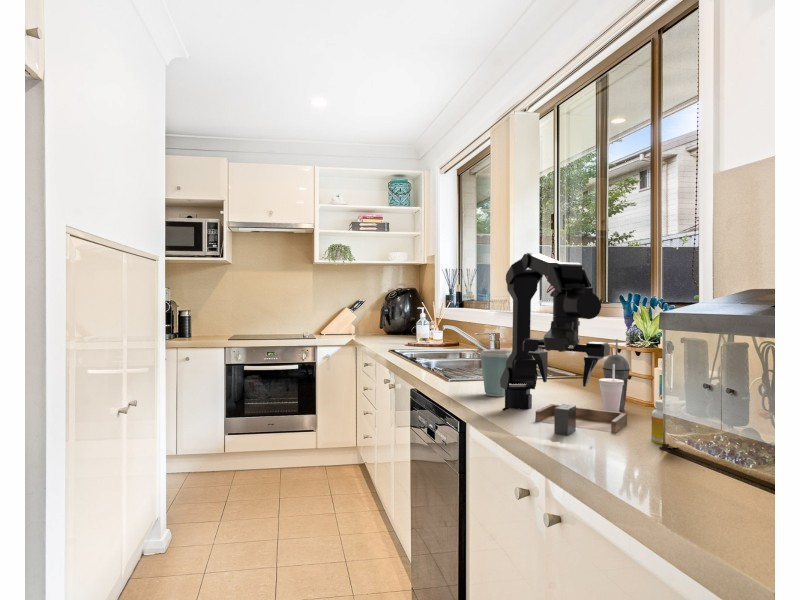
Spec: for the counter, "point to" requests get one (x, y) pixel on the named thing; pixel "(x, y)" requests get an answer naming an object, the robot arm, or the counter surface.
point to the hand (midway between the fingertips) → (564, 384)
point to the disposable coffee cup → (494, 370)
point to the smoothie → (611, 392)
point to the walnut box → (587, 418)
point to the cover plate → (565, 420)
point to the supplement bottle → (657, 423)
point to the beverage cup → (618, 372)
